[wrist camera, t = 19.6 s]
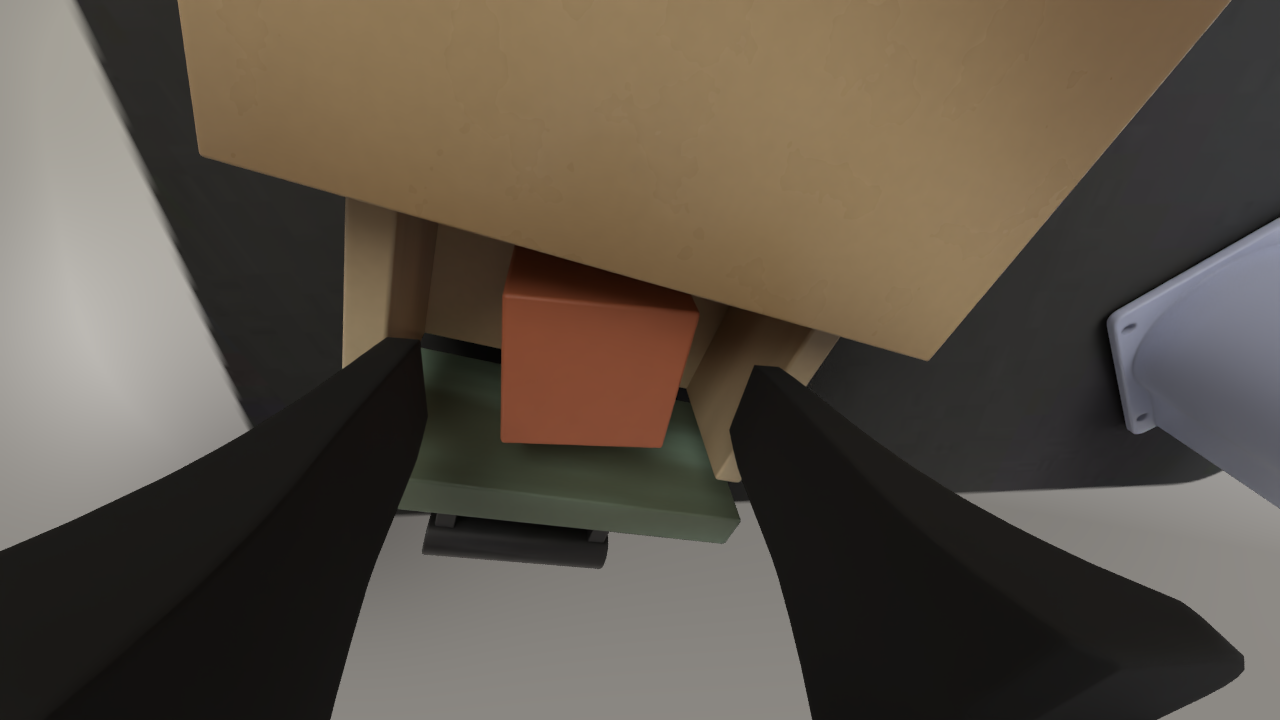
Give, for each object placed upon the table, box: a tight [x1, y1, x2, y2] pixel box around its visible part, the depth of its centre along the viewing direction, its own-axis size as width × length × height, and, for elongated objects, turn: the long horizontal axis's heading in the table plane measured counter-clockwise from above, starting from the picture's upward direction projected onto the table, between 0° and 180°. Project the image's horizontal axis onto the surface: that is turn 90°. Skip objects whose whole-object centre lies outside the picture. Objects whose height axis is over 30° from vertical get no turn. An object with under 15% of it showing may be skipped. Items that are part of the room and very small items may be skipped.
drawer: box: [342, 197, 840, 569], centre depth 12 cm, size 18×11×5 cm, turn 160°
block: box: [500, 245, 700, 448], centre depth 12 cm, size 4×4×4 cm
